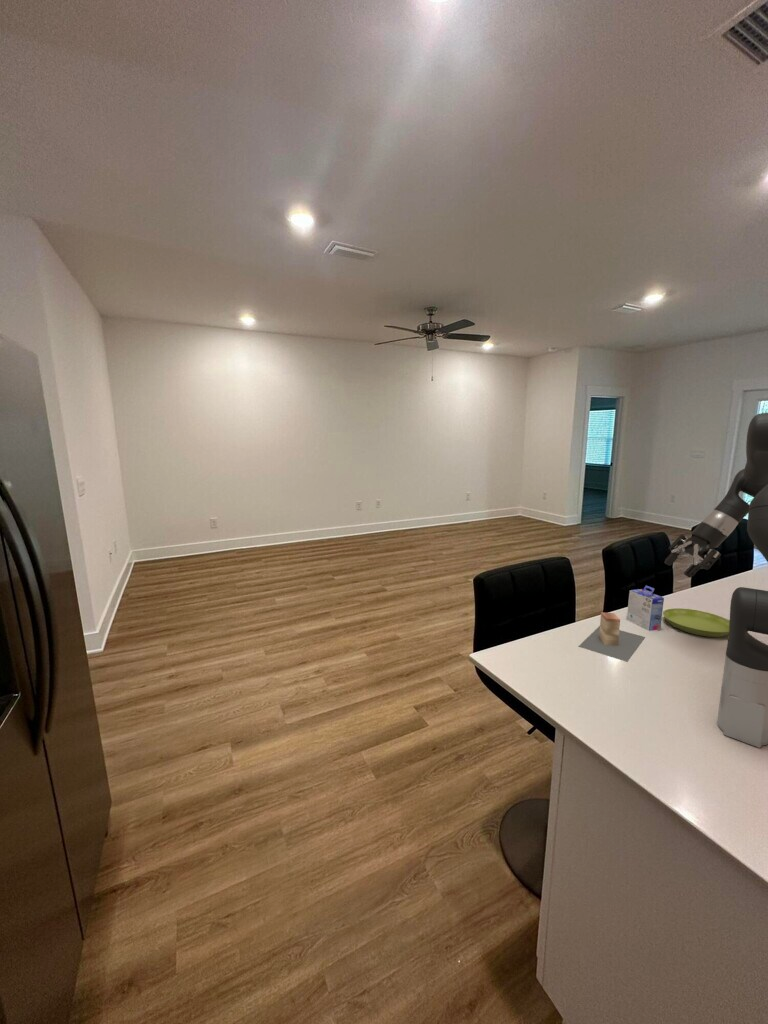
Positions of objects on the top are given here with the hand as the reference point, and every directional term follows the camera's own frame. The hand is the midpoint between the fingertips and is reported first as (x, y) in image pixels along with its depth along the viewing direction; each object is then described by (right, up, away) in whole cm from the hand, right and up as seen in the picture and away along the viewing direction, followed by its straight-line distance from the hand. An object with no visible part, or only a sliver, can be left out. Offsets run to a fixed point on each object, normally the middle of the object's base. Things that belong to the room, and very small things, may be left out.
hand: (676, 569), depth 127 cm
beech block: (-17, -25, +7) cm, 31 cm away
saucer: (+21, -23, +19) cm, 37 cm away
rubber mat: (-16, -25, +7) cm, 31 cm away
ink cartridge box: (+3, -23, +20) cm, 31 cm away
